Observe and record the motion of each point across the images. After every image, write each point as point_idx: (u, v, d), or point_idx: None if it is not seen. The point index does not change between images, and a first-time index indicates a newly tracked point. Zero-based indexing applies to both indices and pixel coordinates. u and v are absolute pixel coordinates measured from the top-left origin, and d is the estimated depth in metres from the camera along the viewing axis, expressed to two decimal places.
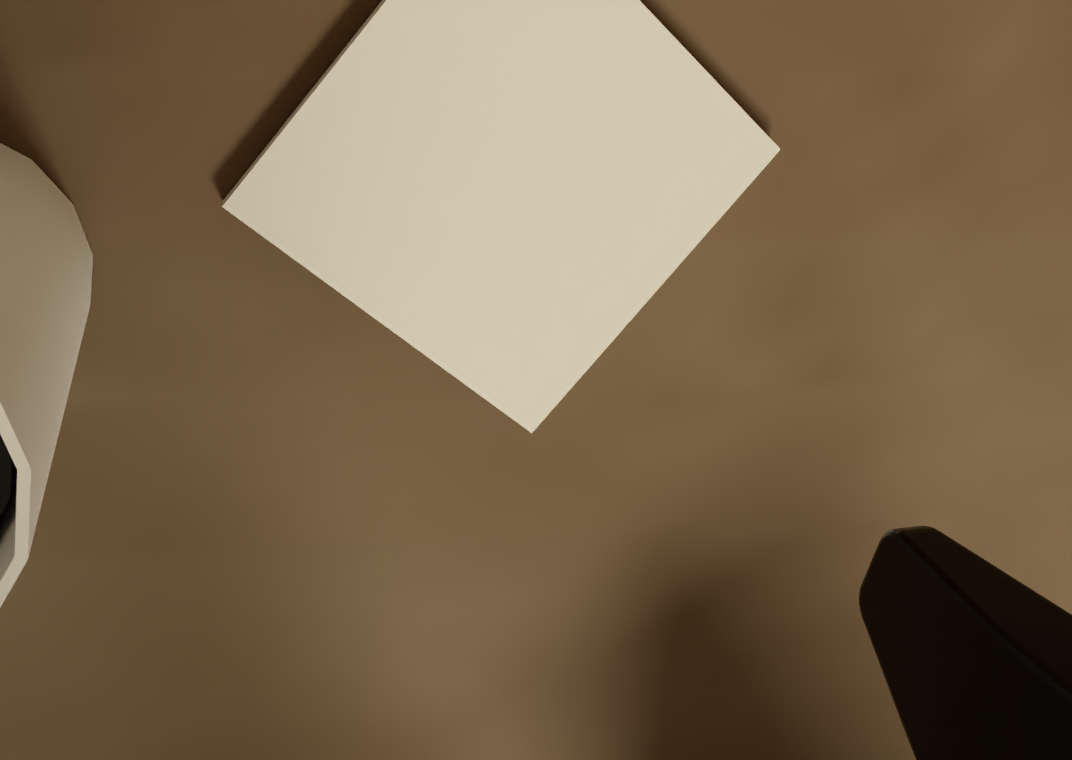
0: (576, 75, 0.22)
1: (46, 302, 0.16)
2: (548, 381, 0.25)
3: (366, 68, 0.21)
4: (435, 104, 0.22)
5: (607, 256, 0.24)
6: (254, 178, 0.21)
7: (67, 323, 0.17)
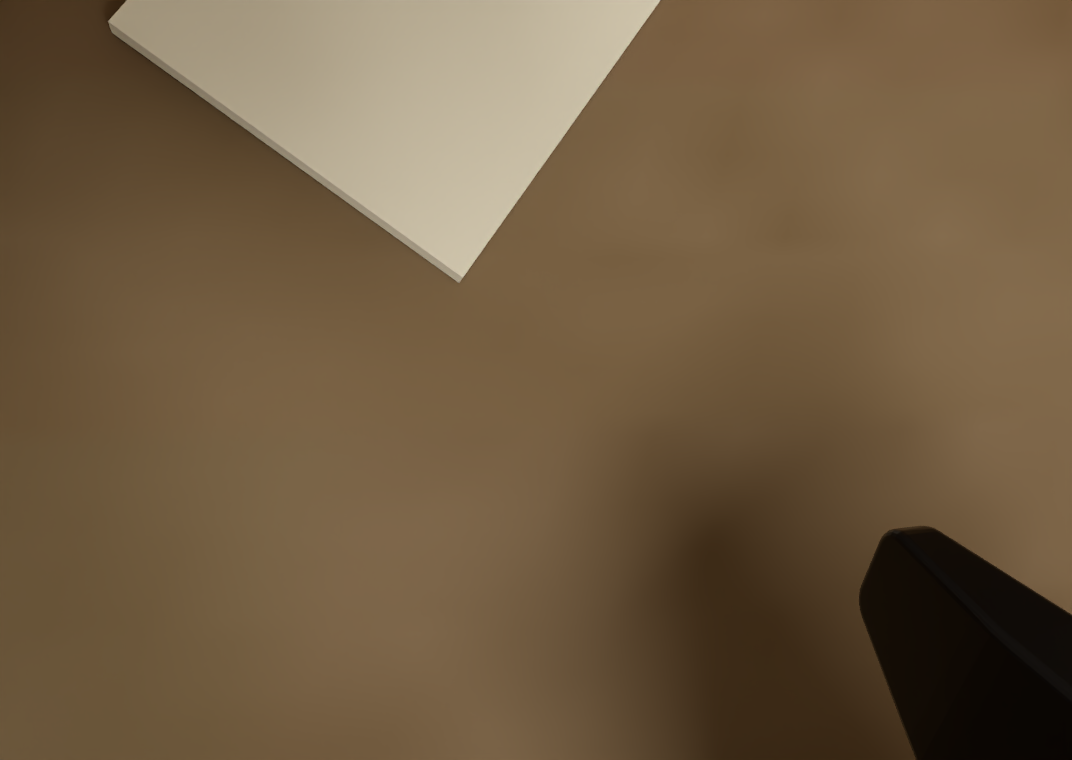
0: None
1: None
2: (473, 216, 0.23)
3: None
4: None
5: (515, 82, 0.23)
6: None
7: None
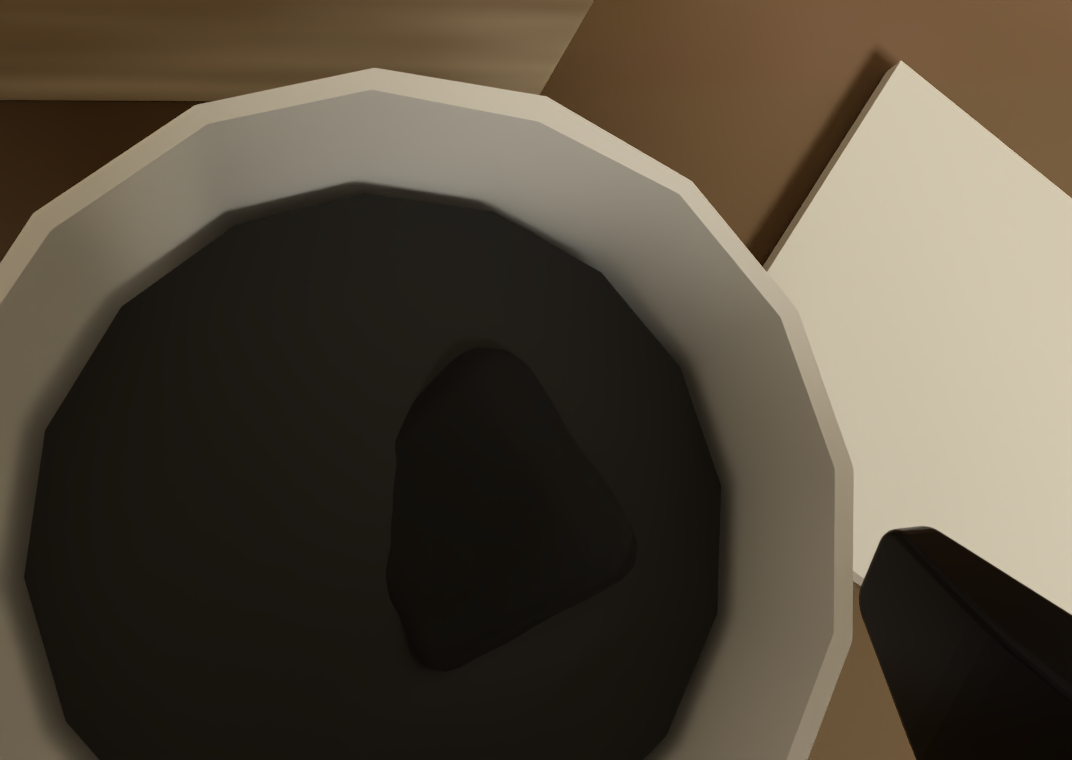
0: (1012, 264, 0.20)
1: None
2: None
3: (802, 268, 0.19)
4: (877, 302, 0.19)
5: None
6: None
7: None
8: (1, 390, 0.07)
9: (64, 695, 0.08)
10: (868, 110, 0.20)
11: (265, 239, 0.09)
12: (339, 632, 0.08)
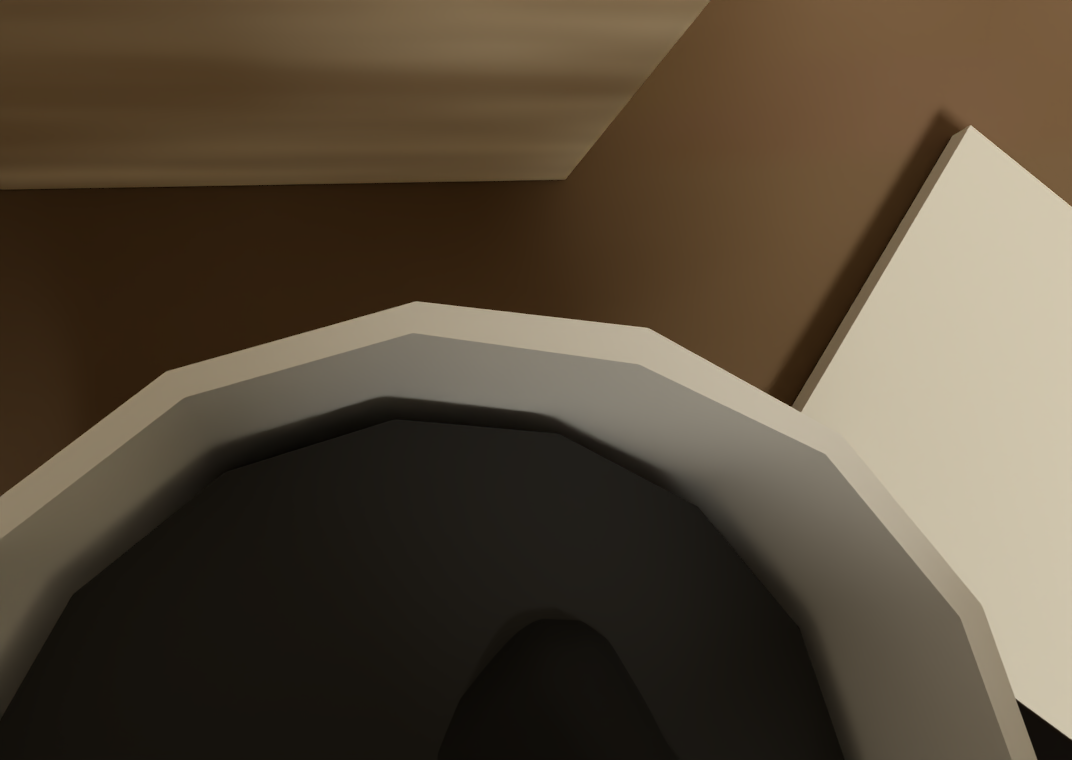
0: None
1: None
2: None
3: (865, 364, 0.17)
4: (947, 401, 0.17)
5: None
6: None
7: None
8: None
9: None
10: (935, 182, 0.18)
11: (266, 487, 0.06)
12: None
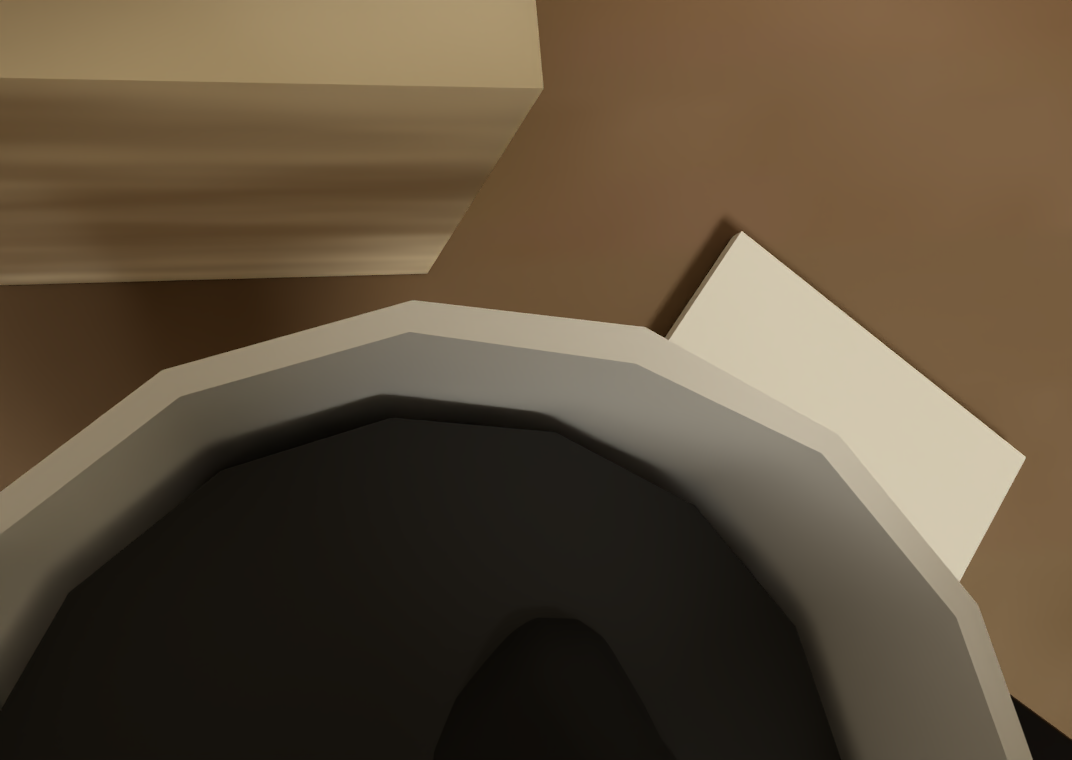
0: (830, 404, 0.24)
1: None
2: None
3: None
4: None
5: None
6: None
7: None
8: None
9: None
10: (711, 274, 0.24)
11: (261, 487, 0.06)
12: None
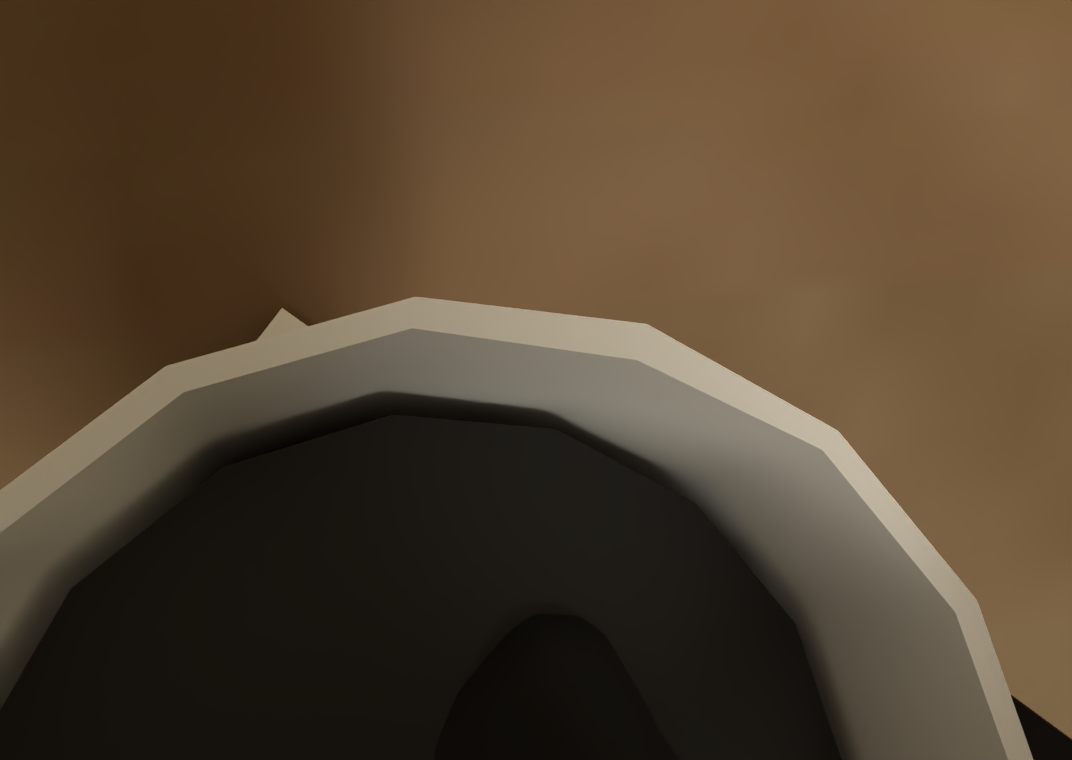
0: None
1: None
2: None
3: None
4: None
5: None
6: None
7: None
8: None
9: None
10: None
11: (263, 484, 0.07)
12: None
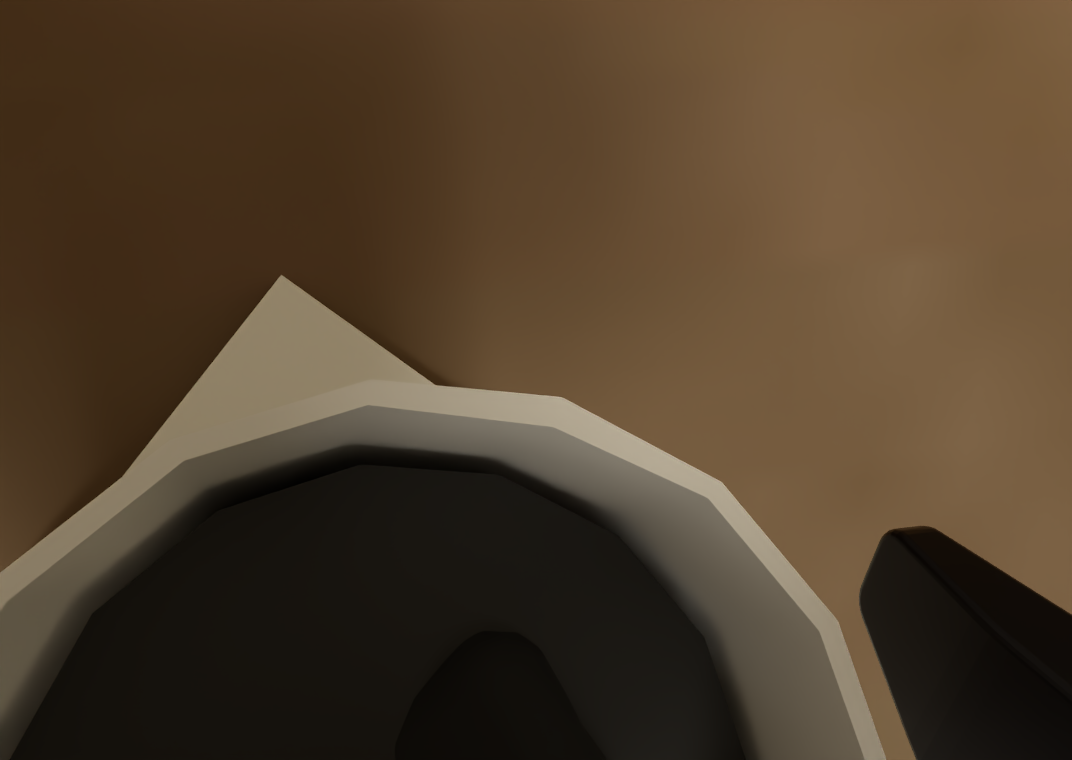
0: None
1: None
2: None
3: None
4: None
5: None
6: None
7: None
8: None
9: None
10: (231, 339, 0.16)
11: (251, 523, 0.08)
12: None
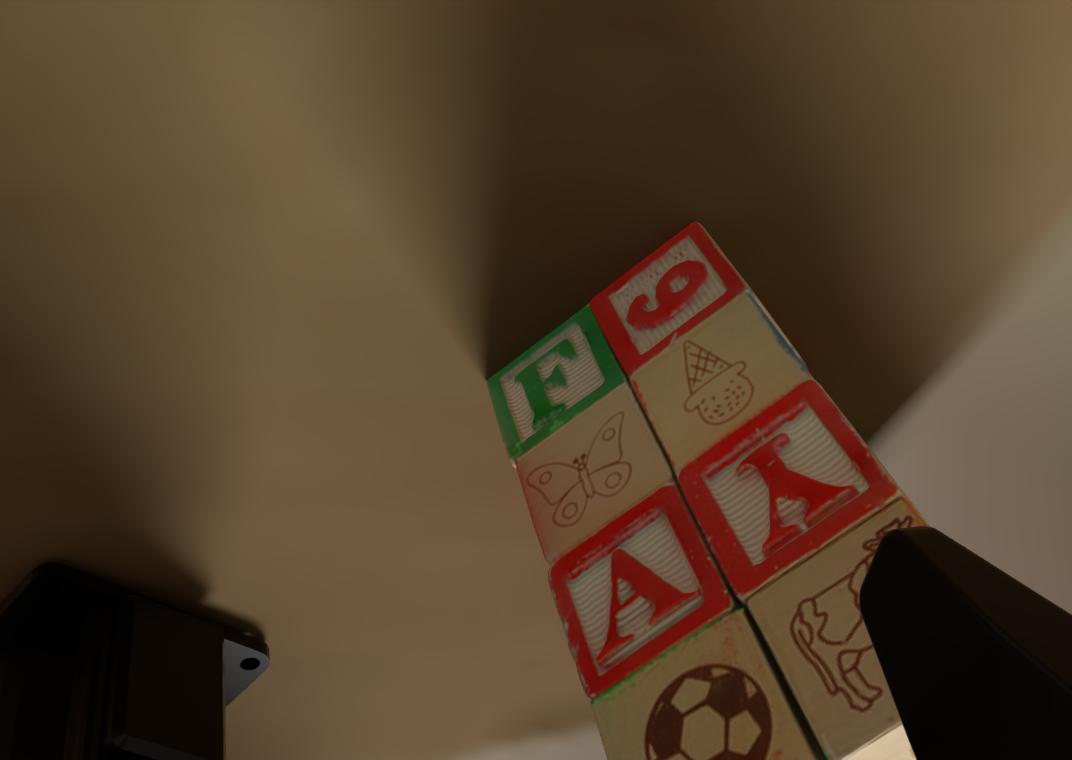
0: None
1: None
2: None
3: None
4: None
5: None
6: None
7: None
8: None
9: None
10: None
11: None
12: None
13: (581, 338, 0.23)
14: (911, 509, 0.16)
